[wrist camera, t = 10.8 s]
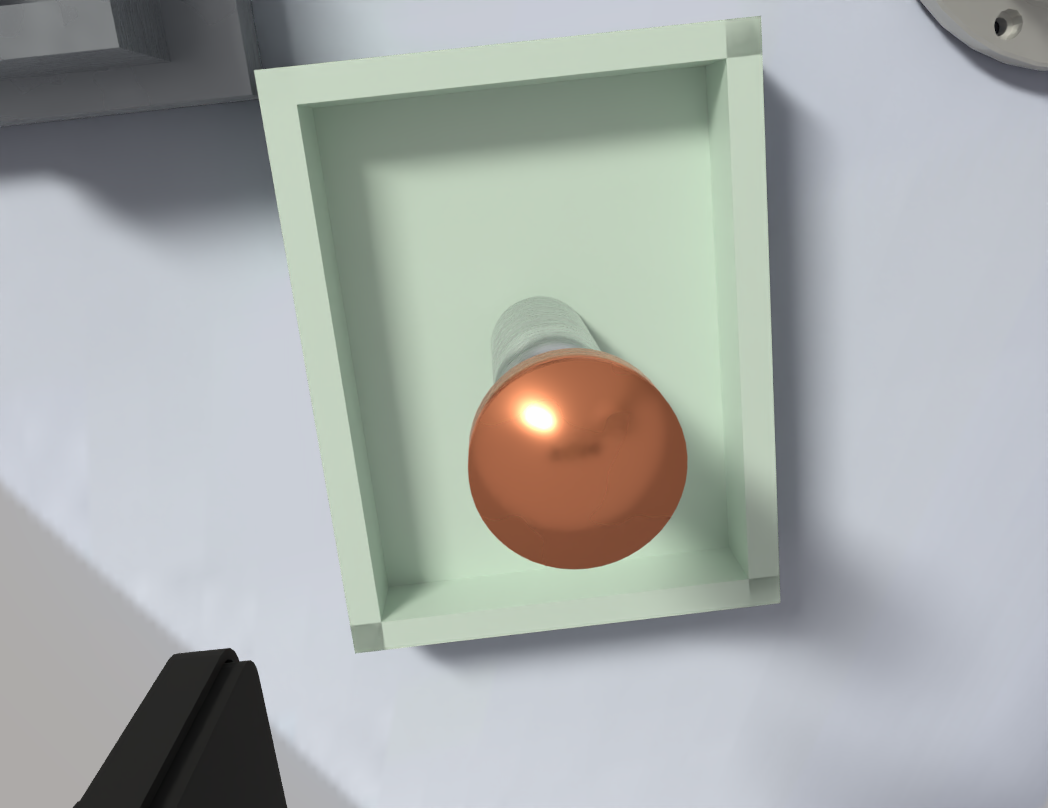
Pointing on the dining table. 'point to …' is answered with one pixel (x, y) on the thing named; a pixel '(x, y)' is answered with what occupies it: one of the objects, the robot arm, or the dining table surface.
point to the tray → (522, 272)
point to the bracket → (123, 57)
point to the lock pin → (571, 444)
